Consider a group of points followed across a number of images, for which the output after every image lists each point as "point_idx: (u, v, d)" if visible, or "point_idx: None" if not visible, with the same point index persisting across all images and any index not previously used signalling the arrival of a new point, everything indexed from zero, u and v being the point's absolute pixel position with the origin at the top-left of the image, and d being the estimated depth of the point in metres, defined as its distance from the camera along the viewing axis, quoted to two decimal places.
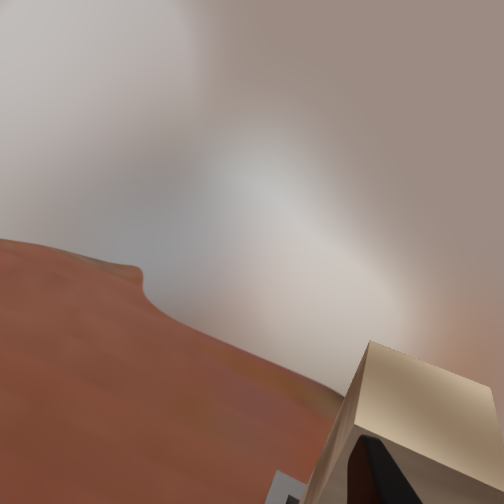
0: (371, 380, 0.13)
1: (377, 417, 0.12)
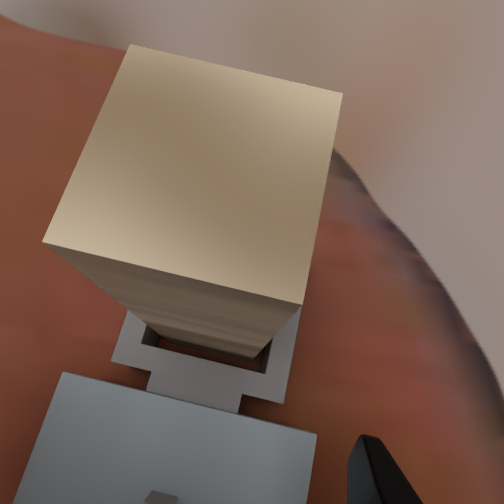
0: (105, 138, 0.07)
1: (92, 216, 0.07)
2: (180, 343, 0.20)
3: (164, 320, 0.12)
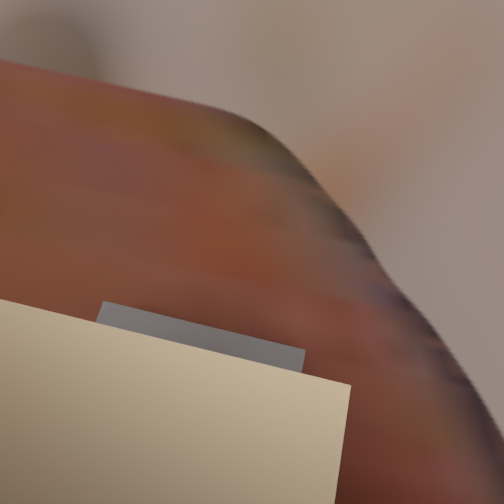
0: None
1: None
2: None
3: None
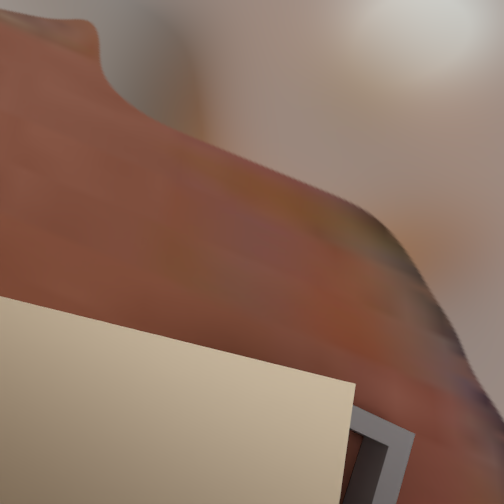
0: None
1: None
2: None
3: None
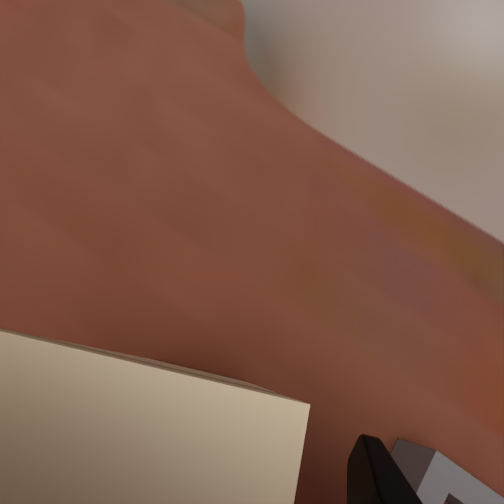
0: None
1: None
2: None
3: None
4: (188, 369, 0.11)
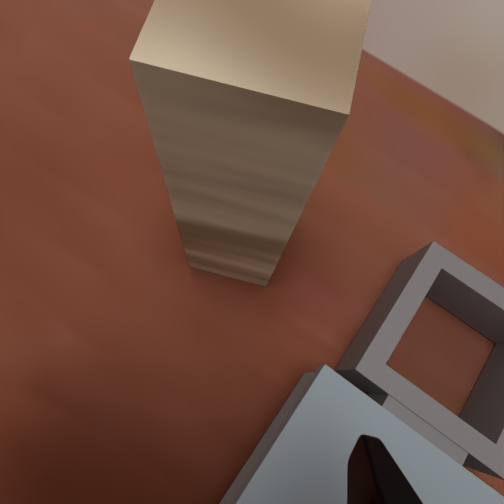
0: None
1: (169, 42, 0.08)
2: (201, 266, 0.21)
3: (200, 209, 0.14)
4: None
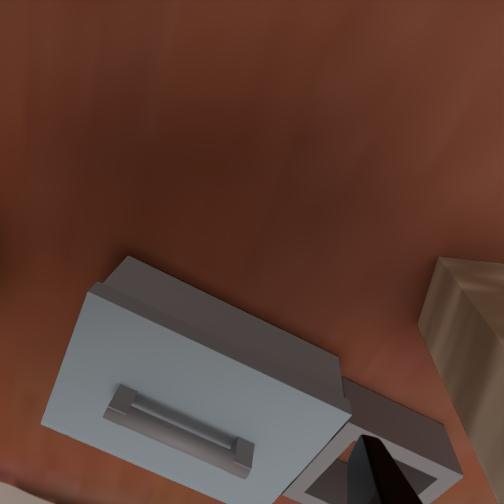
0: None
1: None
2: (440, 276, 0.20)
3: None
4: None
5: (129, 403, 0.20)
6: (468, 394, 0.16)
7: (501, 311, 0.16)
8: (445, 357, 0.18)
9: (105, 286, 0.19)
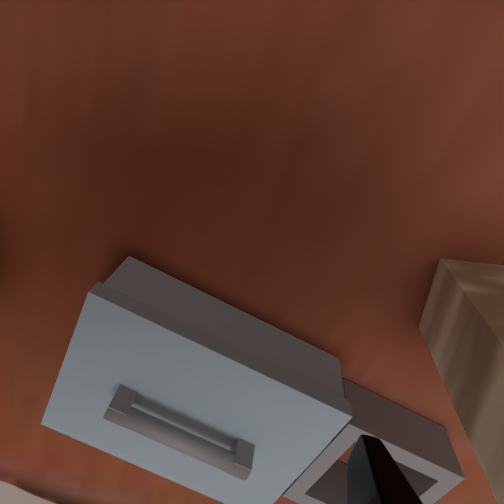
0: None
1: None
2: (441, 278, 0.20)
3: None
4: None
5: (129, 404, 0.20)
6: (469, 397, 0.16)
7: (503, 314, 0.16)
8: (446, 359, 0.18)
9: (106, 286, 0.19)
